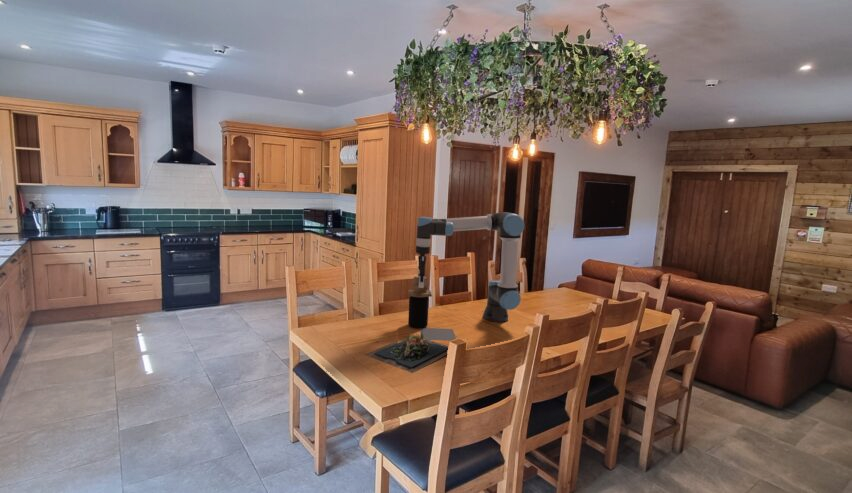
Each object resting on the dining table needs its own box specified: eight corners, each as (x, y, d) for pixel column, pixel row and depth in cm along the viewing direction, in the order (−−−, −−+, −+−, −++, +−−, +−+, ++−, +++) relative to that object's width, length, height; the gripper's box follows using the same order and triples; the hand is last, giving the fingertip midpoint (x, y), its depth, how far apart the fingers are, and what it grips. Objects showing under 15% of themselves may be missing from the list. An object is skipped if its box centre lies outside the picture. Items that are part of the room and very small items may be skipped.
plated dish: (411, 334, 228) (412, 321, 227) (457, 350, 212) (458, 335, 211) (364, 355, 200) (364, 340, 199) (413, 375, 184) (414, 358, 183)
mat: (452, 330, 241) (452, 329, 241) (456, 342, 224) (457, 340, 224) (419, 328, 240) (419, 327, 240) (421, 340, 222) (421, 339, 222)
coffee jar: (428, 324, 248) (429, 292, 246) (426, 329, 237) (427, 296, 236) (409, 323, 249) (410, 291, 247) (406, 328, 238) (408, 295, 237)
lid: (430, 292, 247) (430, 276, 246) (431, 296, 235) (432, 279, 234) (408, 291, 246) (409, 275, 245) (409, 296, 234) (409, 278, 233)
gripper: (415, 242, 249) (412, 279, 252) (416, 249, 224) (414, 289, 227) (428, 242, 249) (426, 279, 252) (431, 249, 224) (428, 290, 228)
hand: (420, 284), depth 240 cm, fingers open, 13 cm apart
